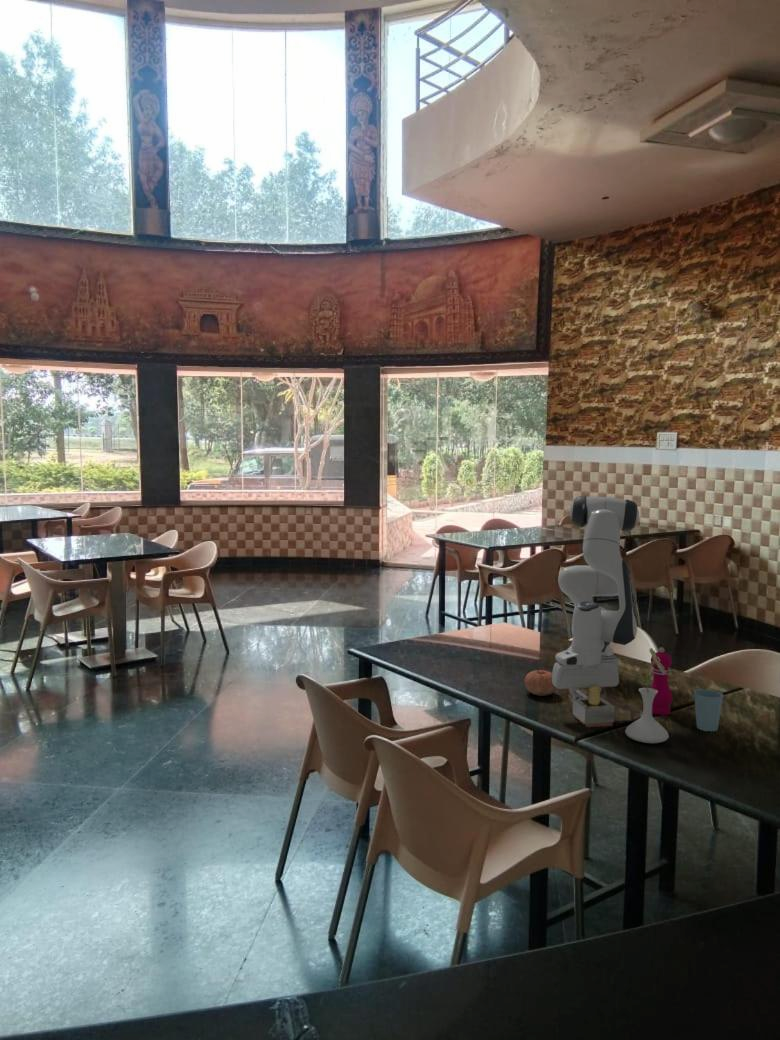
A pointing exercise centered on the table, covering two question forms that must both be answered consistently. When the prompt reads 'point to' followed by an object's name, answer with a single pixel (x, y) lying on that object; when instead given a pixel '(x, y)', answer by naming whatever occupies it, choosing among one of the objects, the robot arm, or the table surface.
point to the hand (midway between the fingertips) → (585, 701)
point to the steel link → (592, 710)
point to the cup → (707, 709)
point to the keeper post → (594, 701)
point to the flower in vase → (648, 714)
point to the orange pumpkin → (539, 682)
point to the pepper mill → (661, 684)
